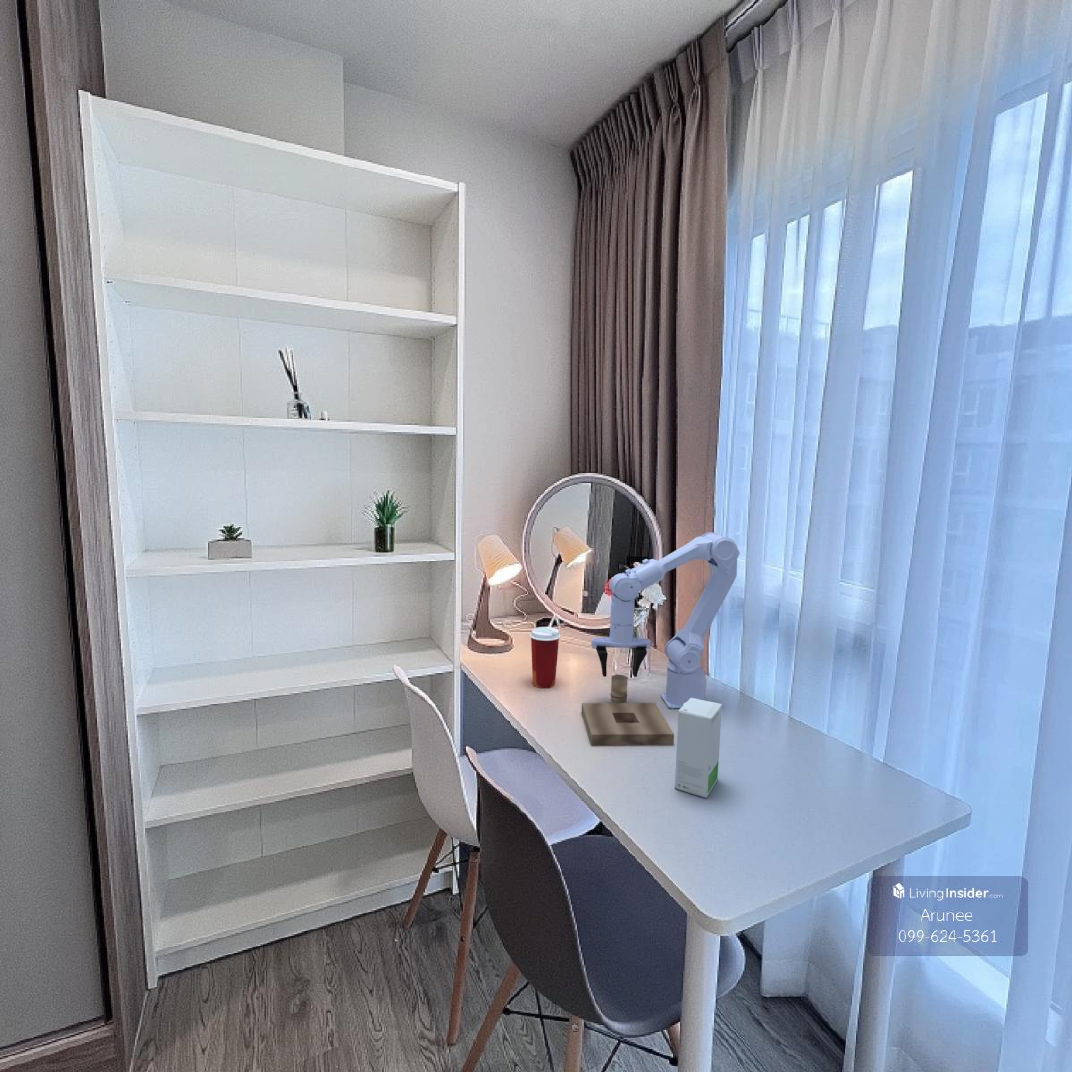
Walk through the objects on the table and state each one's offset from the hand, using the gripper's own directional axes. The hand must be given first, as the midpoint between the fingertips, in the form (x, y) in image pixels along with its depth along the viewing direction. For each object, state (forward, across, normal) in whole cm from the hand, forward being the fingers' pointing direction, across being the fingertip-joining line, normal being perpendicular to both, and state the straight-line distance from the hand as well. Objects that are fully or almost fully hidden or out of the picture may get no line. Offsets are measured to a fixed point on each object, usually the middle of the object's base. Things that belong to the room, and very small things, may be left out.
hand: (619, 675), depth 148 cm
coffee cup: (+8, +18, -13) cm, 23 cm away
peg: (+8, 0, 0) cm, 8 cm away
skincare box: (+8, -8, +36) cm, 38 cm away
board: (+8, +1, +13) cm, 15 cm away
